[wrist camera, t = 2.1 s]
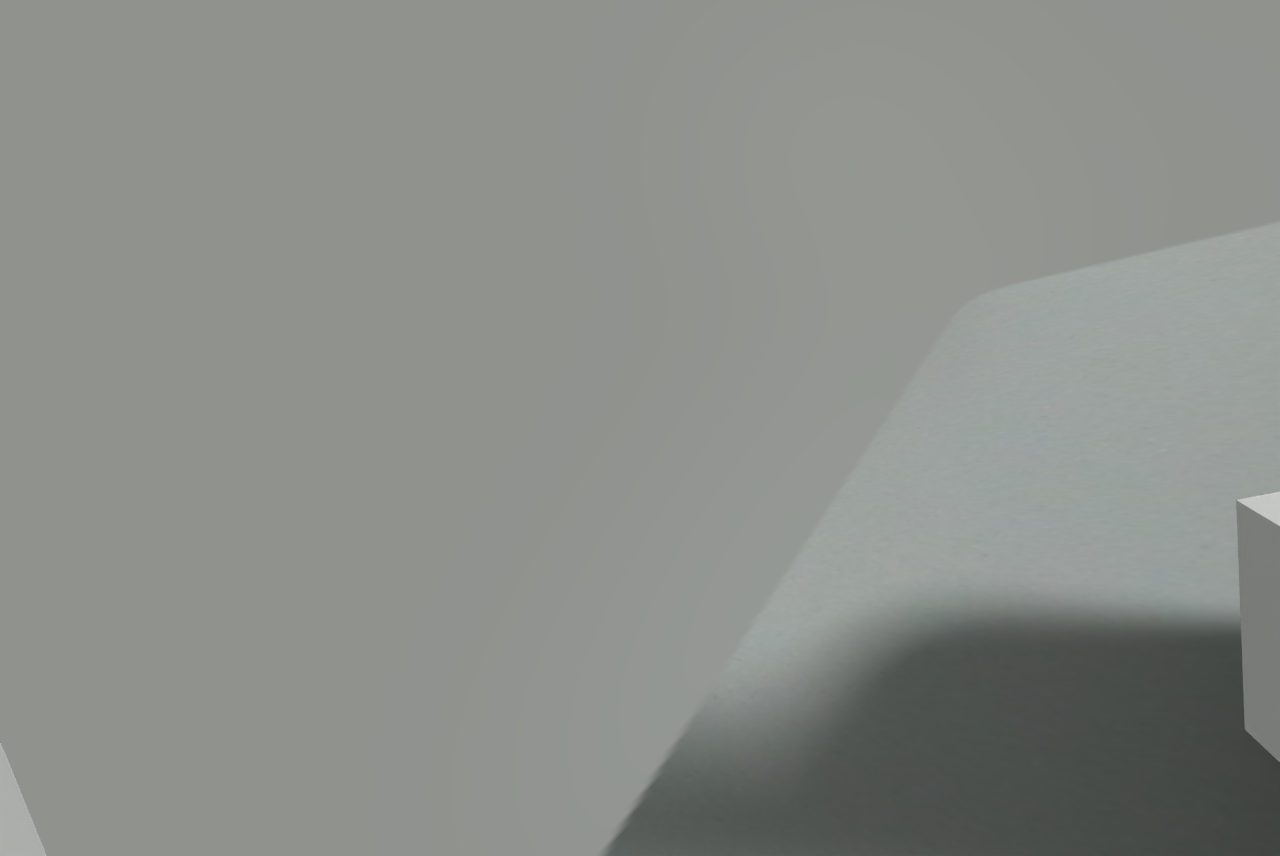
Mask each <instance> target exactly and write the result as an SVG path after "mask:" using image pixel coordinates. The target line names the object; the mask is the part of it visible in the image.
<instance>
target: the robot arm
mask: <svg viewBox="0 0 1280 856" xmlns="http://www.w3.org/2000/svg"><path fill="white" fill-rule="evenodd" d="M1236 503H1237V531H1238V558H1239V586H1240V613H1241V640H1242V668H1243V695H1244V723H1245V730H1246V731H1247V732H1248V733H1249V734H1250V735H1251V736H1252V737H1253V738H1254V739H1255V740H1257V741H1258V742H1259V743H1260V744H1261V745H1262V746H1263V747H1264V748H1265V749H1266V750H1267V751H1268V752H1269V753H1270V754H1271V755H1272V756H1273V757H1275V758H1276V759H1277V760H1278V761H1279V762H1280V492H1275V493H1270V494H1265V495H1260V496H1255V497H1250V498H1244V499H1239V500H1236ZM0 856H47V855H46V853H45V850H44V848H43V846H42V843H41V841H40V838H39V836H38V834H37V831H36V828H35V826H34V823H33V821H32V819H31V816H30V814H29V811H28V809H27V806H26V804H25V801H24V799H23V797H22V794H21V792H20V789H19V787H18V784H17V782H16V779H15V777H14V775H13V772H12V769H11V767H10V765H9V762H8V760H7V757H6V755H5V752H4V750H3V748H2V745H1V743H0Z"/></svg>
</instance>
